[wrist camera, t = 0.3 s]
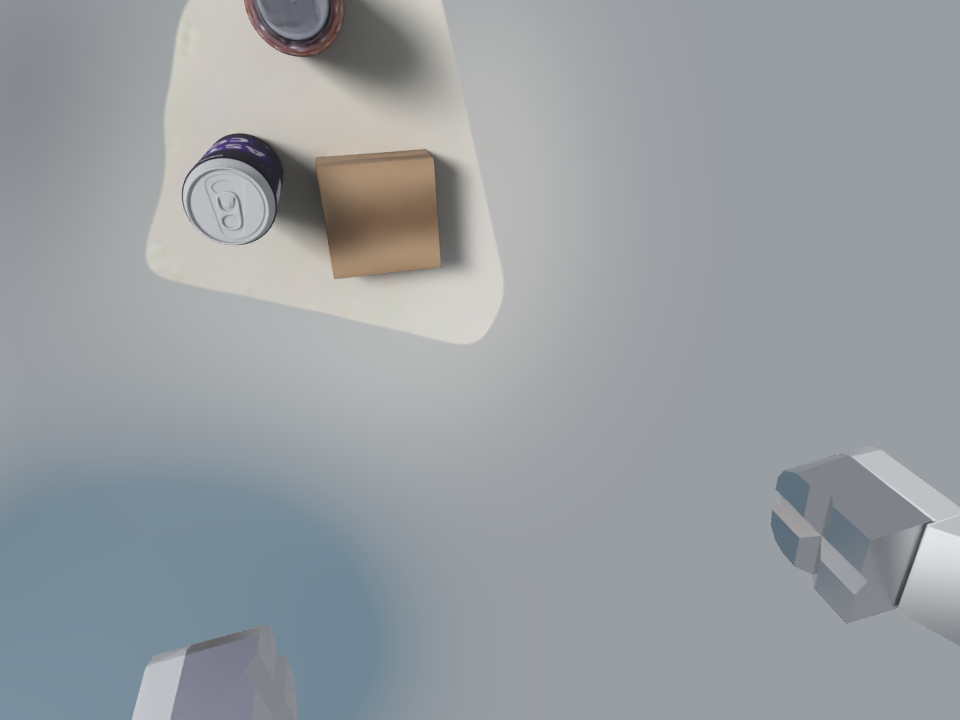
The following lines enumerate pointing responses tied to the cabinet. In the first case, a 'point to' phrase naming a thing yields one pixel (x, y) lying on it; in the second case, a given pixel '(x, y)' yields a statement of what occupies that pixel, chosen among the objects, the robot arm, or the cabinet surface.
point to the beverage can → (234, 190)
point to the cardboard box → (380, 212)
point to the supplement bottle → (297, 24)
